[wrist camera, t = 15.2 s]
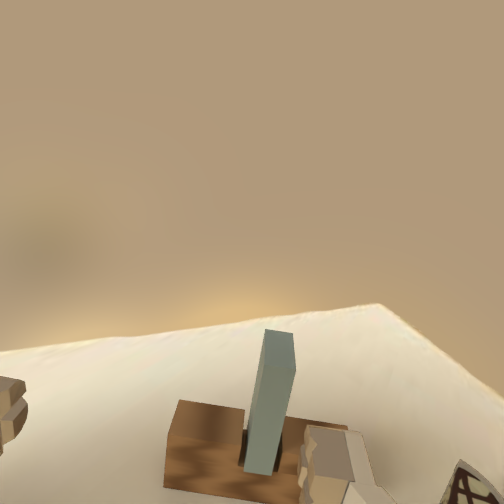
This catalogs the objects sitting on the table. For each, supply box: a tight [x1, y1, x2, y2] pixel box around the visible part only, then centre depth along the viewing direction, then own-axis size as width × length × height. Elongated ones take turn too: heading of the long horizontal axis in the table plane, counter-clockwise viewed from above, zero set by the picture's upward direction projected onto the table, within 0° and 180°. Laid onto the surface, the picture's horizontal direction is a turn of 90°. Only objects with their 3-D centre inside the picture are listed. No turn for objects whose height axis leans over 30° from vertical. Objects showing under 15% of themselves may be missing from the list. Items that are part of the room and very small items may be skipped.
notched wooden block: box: [163, 400, 348, 504], centre depth 42 cm, size 20×5×8 cm, turn 86°
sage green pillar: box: [244, 329, 296, 476], centre depth 39 cm, size 3×6×14 cm, turn 176°
